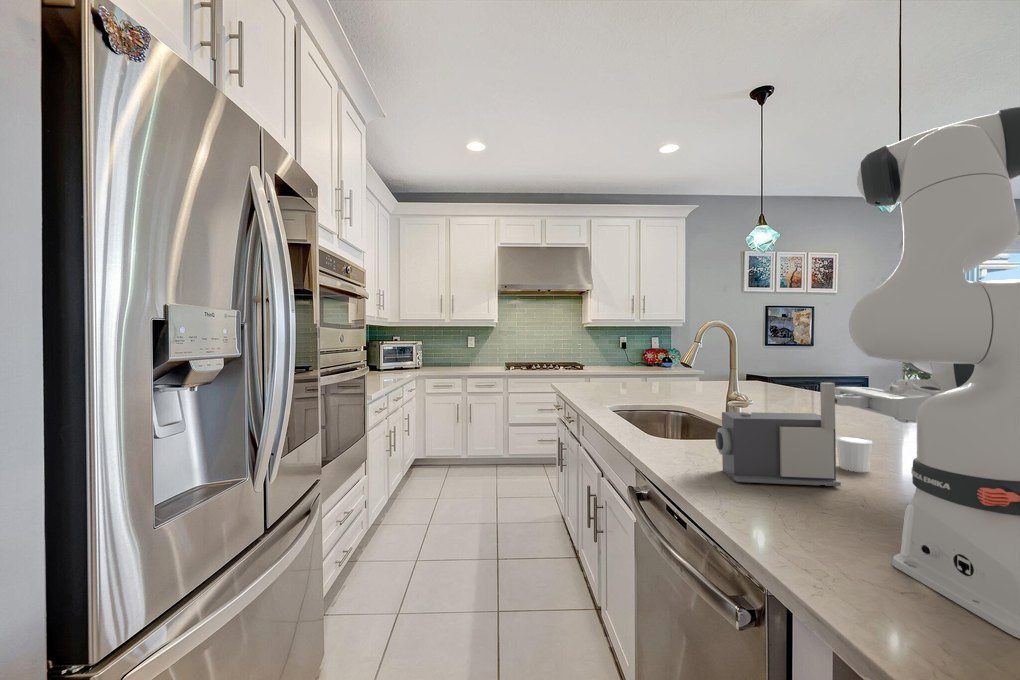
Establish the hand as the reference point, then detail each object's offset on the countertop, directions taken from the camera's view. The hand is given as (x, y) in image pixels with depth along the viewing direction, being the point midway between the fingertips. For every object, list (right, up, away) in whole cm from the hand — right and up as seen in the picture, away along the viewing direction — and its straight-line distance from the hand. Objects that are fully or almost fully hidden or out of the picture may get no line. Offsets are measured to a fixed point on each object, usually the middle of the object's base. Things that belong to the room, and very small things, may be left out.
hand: (834, 400), depth 88 cm
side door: (-5, -16, +1) cm, 17 cm away
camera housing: (-9, -19, +6) cm, 21 cm away
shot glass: (+15, -18, +13) cm, 27 cm away
